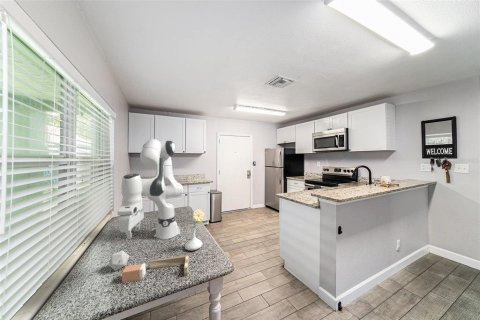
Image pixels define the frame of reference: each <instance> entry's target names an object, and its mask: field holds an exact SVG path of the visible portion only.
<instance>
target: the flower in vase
mask: <svg viewBox="0 0 480 320" xmlns="http://www.w3.org/2000/svg"><path fill="white" fill-rule="evenodd" d="M192 218H193V219H194V221H195V222H194V223H192V222H189V224H190V226H188V227H189V228H188V229H190V233H191V238H190V239H189V240H188V241H186V243H185V245H184V249H185V250H187V251H196V250H198V249H200V248H201V247H202V246H203V242H202V240H200V239H199V238H197V237H196V229H197V227H198V225H200V224H202V223H203V220H204V219H205V213H204V212H203V210H202V209H195V211H193V213H192ZM196 224H198V225H196Z"/></svg>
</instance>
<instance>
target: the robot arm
mask: <svg viewBox="0 0 480 320" xmlns="http://www.w3.org/2000/svg"><path fill="white" fill-rule="evenodd" d="M175 152H176V145H175V143H174V142H173V141H172V140H158V139H156V138H150V139H148V140H147V141H145V143H144V144H143V146H142V149H141V151H140V155H139V160H140V162H141V163H142V164H144V165H145V166H147V167H151V168H153V169H155V176H154V177H151V178H141V174H140V173H128V174H125V175H124V176H122V179H121V188H120V189H121V195H122V200H121V206H120V207H119V209H118V210H117V216H119V217H118V229H119V231H120V233H125V235H126V239H128V240H129V239H130V240H131V239H132V237H133V233H132V229H134V230H135V231H136V232H137V231H140V229H141V223H142V220H143V219H144V218H145V210H144V206H143V197H147V198H148V200H150V201H152V202H153V203H154V204H155V205H156V207H157V212H158V218H157V219H158V220H157V222H158V223H157V225H156V228H155V229H156V230H155V234H154V235H153V237H154V238H157V239H159V240H168V239H171V238H174V237H177V236H178V235H180V234H181V229H180V226H179V225H178V223H177V221H176V215H175V206H174V204H173V203H170V202H167V201H166V200H167V199H175V198H179V197H181V196H182V195H183V193H184V186H183V185H182V184H181V183H179V182H178V181H177V180H176V178H175V176H174V170H173V161H172V156H173V155H174V154H175Z"/></svg>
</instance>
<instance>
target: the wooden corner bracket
mask: <svg viewBox="0 0 480 320" xmlns="http://www.w3.org/2000/svg"><path fill="white" fill-rule="evenodd" d="M189 263H190V256H189V254H185V255H178V256H171V257H164V258H158V259H150V260H149V270H153V269H154V270H155V269H161V268H168V267H173V266H179V265H184V266H183V270H184V273H183V274H184V277H187V276H188V277H189V275H188V274H189V266H190V264H189Z"/></svg>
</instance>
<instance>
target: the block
mask: <svg viewBox="0 0 480 320" xmlns="http://www.w3.org/2000/svg"><path fill="white" fill-rule="evenodd" d="M146 267H147V266H146V263H139V264H138V263H137V264H132V265H126V266H125V267H124V269H123V270H122V272H121V281H122V282H121V283H128V282H133V281H140V280H144V279H145V276H146V273H147V270H146Z"/></svg>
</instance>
